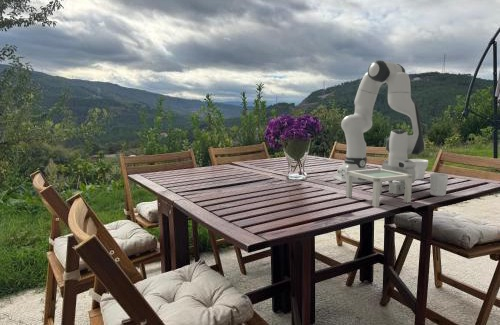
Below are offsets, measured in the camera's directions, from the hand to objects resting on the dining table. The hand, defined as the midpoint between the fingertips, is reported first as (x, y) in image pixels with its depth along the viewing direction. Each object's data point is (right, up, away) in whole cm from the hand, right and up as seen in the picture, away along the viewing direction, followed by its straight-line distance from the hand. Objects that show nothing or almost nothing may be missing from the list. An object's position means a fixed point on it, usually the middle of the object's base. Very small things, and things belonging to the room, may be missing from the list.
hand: (396, 189), depth 189 cm
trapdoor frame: (-14, -4, -13) cm, 19 cm away
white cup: (+19, -3, -4) cm, 20 cm away
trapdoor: (-14, +5, -14) cm, 21 cm away
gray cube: (0, -2, 0) cm, 2 cm away
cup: (+27, +4, +39) cm, 48 cm away
